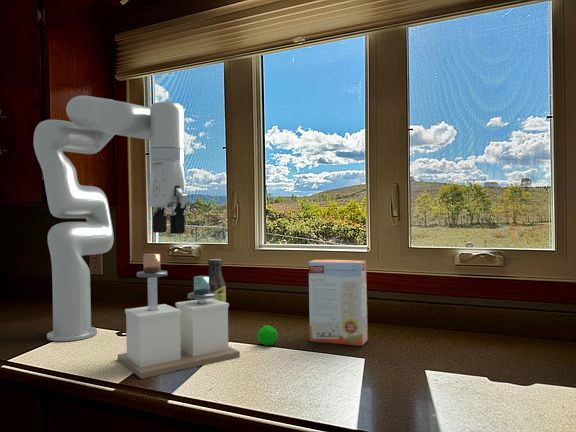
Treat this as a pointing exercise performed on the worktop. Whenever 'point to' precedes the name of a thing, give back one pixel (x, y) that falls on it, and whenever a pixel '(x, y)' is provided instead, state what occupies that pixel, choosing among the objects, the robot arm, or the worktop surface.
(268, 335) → the polyhedron
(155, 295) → the plunger
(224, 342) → the press stand
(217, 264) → the sauce bottle
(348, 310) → the cracker box
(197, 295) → the plunger
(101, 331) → the worktop surface
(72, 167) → the robot arm
